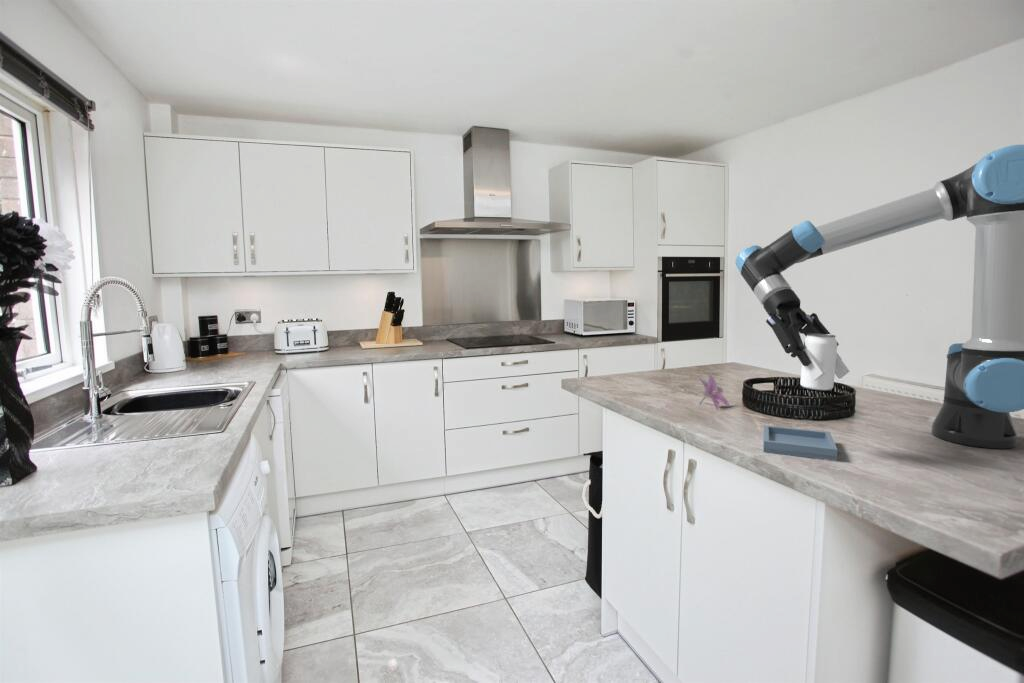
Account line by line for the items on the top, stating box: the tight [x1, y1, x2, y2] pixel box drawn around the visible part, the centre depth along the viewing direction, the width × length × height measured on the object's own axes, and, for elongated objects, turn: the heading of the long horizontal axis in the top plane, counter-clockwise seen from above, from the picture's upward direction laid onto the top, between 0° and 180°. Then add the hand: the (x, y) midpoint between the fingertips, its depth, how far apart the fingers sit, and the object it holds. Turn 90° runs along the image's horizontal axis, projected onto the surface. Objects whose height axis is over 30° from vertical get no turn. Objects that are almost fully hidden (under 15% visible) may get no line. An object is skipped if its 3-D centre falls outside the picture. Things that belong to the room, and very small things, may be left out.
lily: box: [698, 372, 731, 410], centre depth 155 cm, size 12×12×10 cm
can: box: [799, 334, 838, 391], centre depth 114 cm, size 6×6×12 cm
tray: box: [763, 424, 838, 462], centre depth 117 cm, size 14×14×2 cm
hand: (831, 375), depth 111 cm, fingers closed on can, 6 cm apart
